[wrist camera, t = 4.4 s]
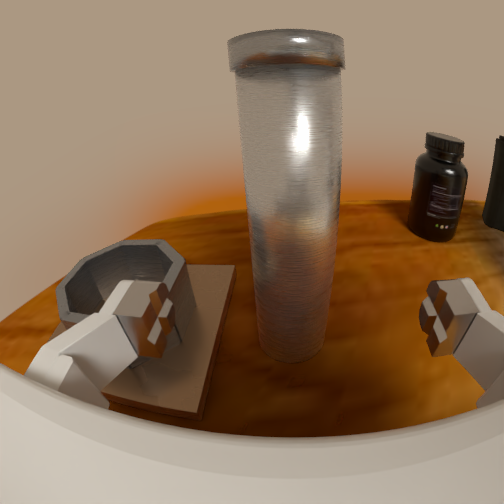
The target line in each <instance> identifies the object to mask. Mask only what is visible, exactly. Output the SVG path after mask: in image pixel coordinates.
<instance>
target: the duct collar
mask: <svg viewBox="0 0 504 504" xmlns="http://www.w3.org/2000/svg"><path fill="white" fill-rule="evenodd" d="M235 279H236V270H235V265H186V261H185V259H184V258H183V257H182V256H181V255H180V254H179V253H178V252H177V251H175V250H174V249H173V248H172V247H171V246H170V245H169V244H168V243H167V242H166V241H165V240H162V239H155V240H123V241H120V242H117V243H115V244H113V245H111V246H108V247H106V248H104V249H102V250H100V251H97V252H95V253H93V254H90V255H88V256H86V257H84V258H83V259H81V260H80V261H79V262H78V263H77V264H76V266H74V268H73V269H72V270H71V271H70V272H69V273H68V274H67V276H66V277H65V278H64V279H63V280H62V282H61V283H60V284H59V285H58V286H57V287H56V296H57V303H58V310H59V316H60V320H61V323H60V324H59V325H58V327H57V328H56V330H55V331H54V333H53V334H52V336H51V337H50V339H49V340H48V342H49V341H51V340H53V339H54V338H56V337H57V336H59V335H60V334H62V333H63V332H65V331H67V330H68V329H70V328H71V327H73V326H74V325H76V324H78V323H79V322H81V321H82V320H84V319H85V318H87V317H89V316H90V315H92V314H93V313H99V311H100V310H101V308H102V307H103V305H104V304H105V302H106V301H107V299H108V298H109V296H110V295H111V293H112V292H113V291H114V289H115V288H116V286H117V285H118V283H119V282H120V281H122V280H134V281H136V280H137V281H152V282H163V283H165V284H166V285H167V288H168V291H169V294H168V296H167V298H168V299H169V300H170V301H171V302H172V303H173V305H174V308H175V325H174V327H173V330H172V332H171V333H169V334H168V335H167V336H165V337H166V339H167V342H168V343H167V345H166V348H165V350H164V353H163V355H162V358H154V357H146V356H138V355H137V356H138V357H137V358H136V359H135V360H134V361H133V362H132V363H131V364H130V365H129V366H127V367H126V368H125V369H124V370H123V371H122V372H121V373H120V374H119V375H118V376H116V377H115V378H114V379H113V380H112V381H111V382H110V383H109V384H108V385H107V386H106V387H104V388H103V389H102V390H101V391H100V392H101V393H102V394H103V396H104V397H105V398H106V399H107V400H109V401H112V402H115V403H119V404H123V405H126V406H130V407H134V408H138V409H142V410H146V411H151V412H155V413H160V414H165V415H170V416H175V417H180V418H186V419H192V420H199V421H201V420H202V416H203V411H204V407H205V403H206V399H207V394H208V390H209V386H210V382H211V378H212V373H213V369H214V365H215V361H216V357H217V353H218V348H219V344H220V340H221V336H222V332H223V328H224V324H225V320H226V316H227V312H228V307H229V303H230V299H231V295H232V291H233V287H234V283H235ZM48 342H47V343H48Z"/></svg>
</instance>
